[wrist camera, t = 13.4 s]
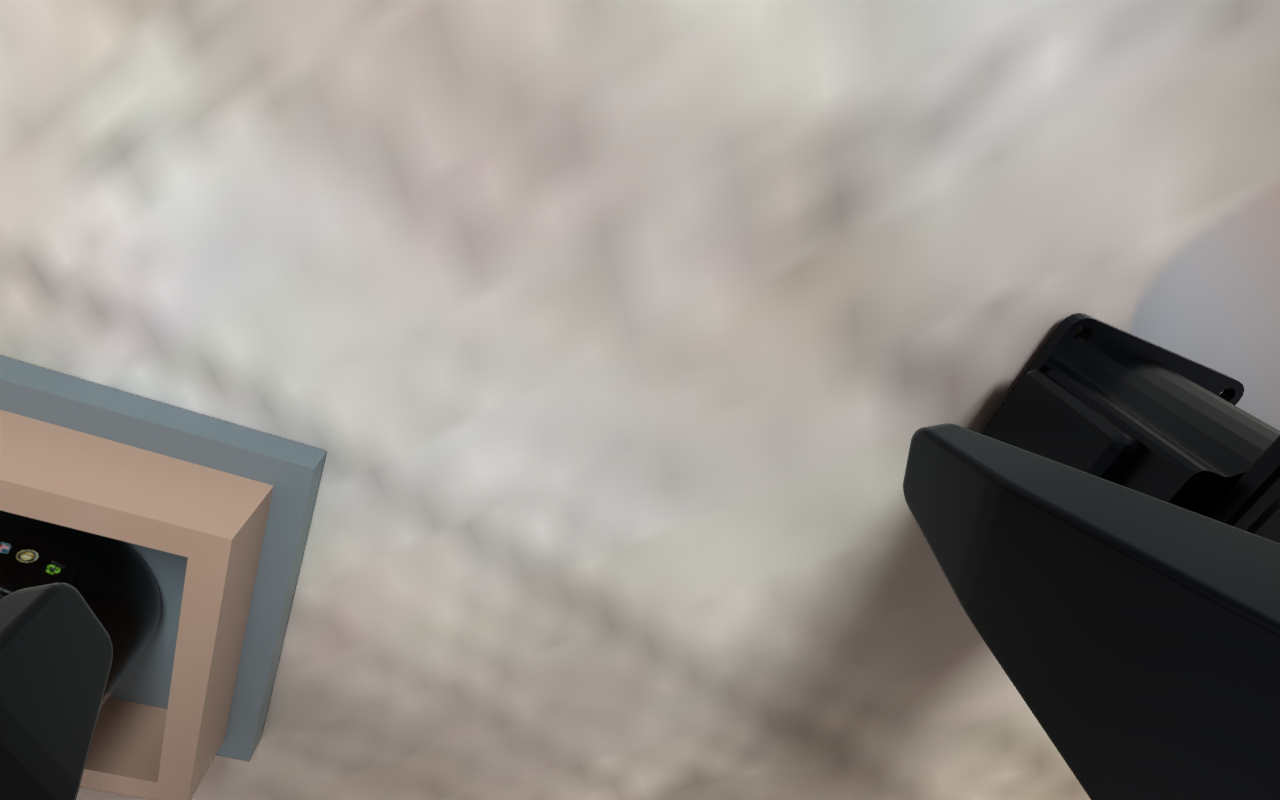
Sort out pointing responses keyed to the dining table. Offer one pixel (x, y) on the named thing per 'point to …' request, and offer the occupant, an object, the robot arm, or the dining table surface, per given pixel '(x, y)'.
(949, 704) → the dining table surface
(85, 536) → the supplement bottle
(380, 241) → the dining table surface
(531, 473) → the dining table surface
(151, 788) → the dock
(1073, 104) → the dining table surface
